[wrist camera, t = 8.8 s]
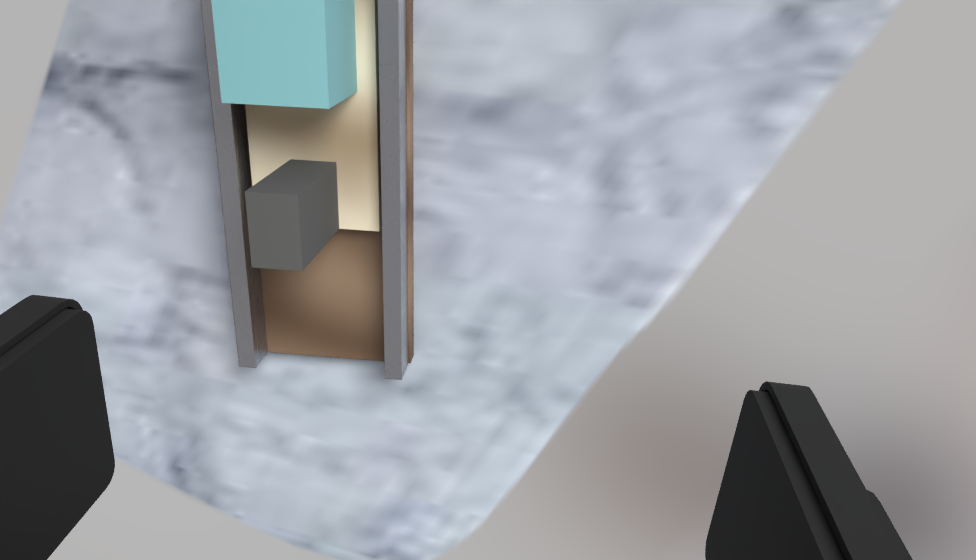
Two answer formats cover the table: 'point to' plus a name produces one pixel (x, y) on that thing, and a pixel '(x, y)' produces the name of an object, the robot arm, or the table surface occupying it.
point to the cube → (286, 51)
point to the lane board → (349, 253)
